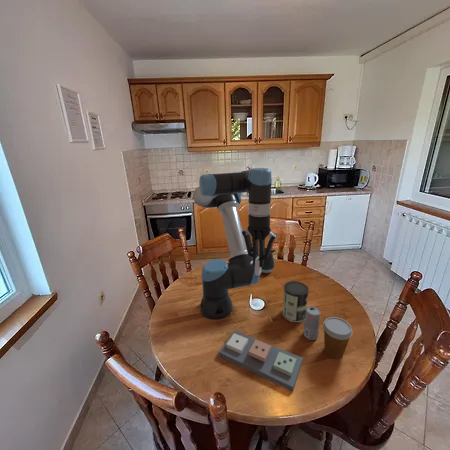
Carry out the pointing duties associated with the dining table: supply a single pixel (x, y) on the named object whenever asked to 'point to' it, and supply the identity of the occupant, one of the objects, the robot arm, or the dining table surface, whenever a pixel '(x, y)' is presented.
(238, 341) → the key one
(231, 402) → the dining table surface
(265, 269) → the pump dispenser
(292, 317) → the coffee can
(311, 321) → the energy drink
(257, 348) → the key two
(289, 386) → the keypad board
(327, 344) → the disposable coffee cup
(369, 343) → the dining table surface
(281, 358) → the key three
